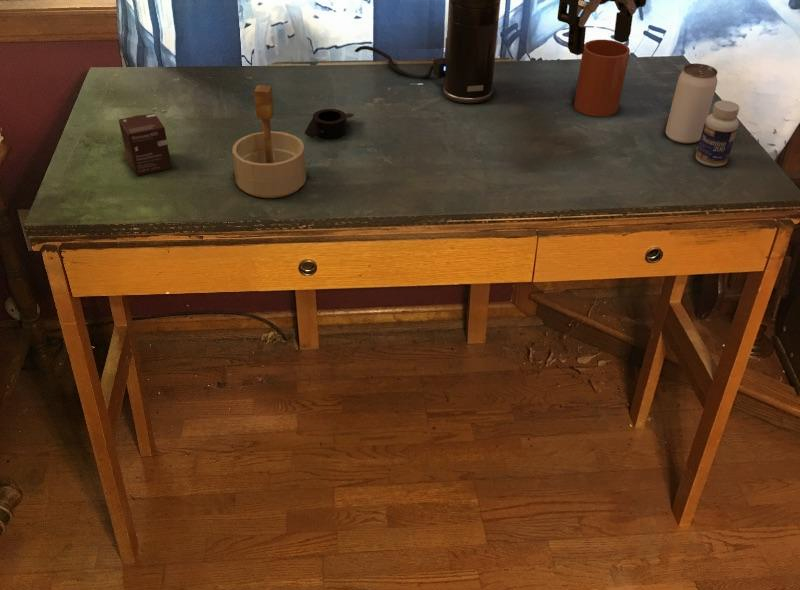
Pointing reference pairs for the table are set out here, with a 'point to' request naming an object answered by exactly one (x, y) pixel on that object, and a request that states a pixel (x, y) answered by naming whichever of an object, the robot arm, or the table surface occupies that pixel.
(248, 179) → the bowl
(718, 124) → the pill bottle
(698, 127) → the can
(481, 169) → the table surface
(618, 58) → the crock
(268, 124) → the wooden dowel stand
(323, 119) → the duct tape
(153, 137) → the box
